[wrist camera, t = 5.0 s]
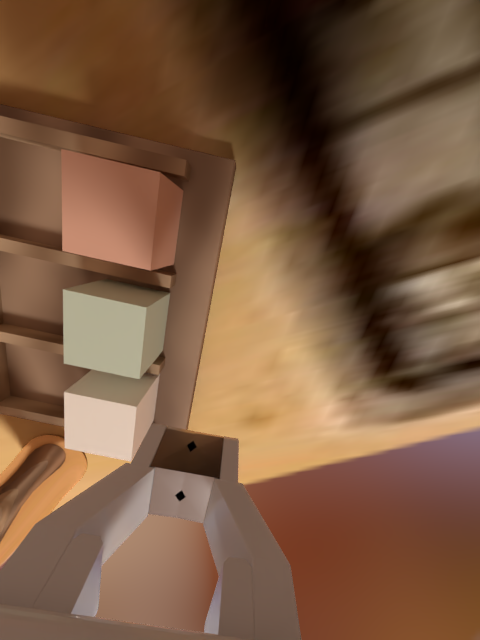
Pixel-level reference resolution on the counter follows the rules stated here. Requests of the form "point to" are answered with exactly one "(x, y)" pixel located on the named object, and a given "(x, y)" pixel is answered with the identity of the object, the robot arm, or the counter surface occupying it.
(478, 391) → the counter surface
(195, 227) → the brown compartment tray
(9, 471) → the beer glass
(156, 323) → the sage green cube
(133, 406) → the pale pink cube
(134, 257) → the salmon pink cube
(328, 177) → the counter surface
